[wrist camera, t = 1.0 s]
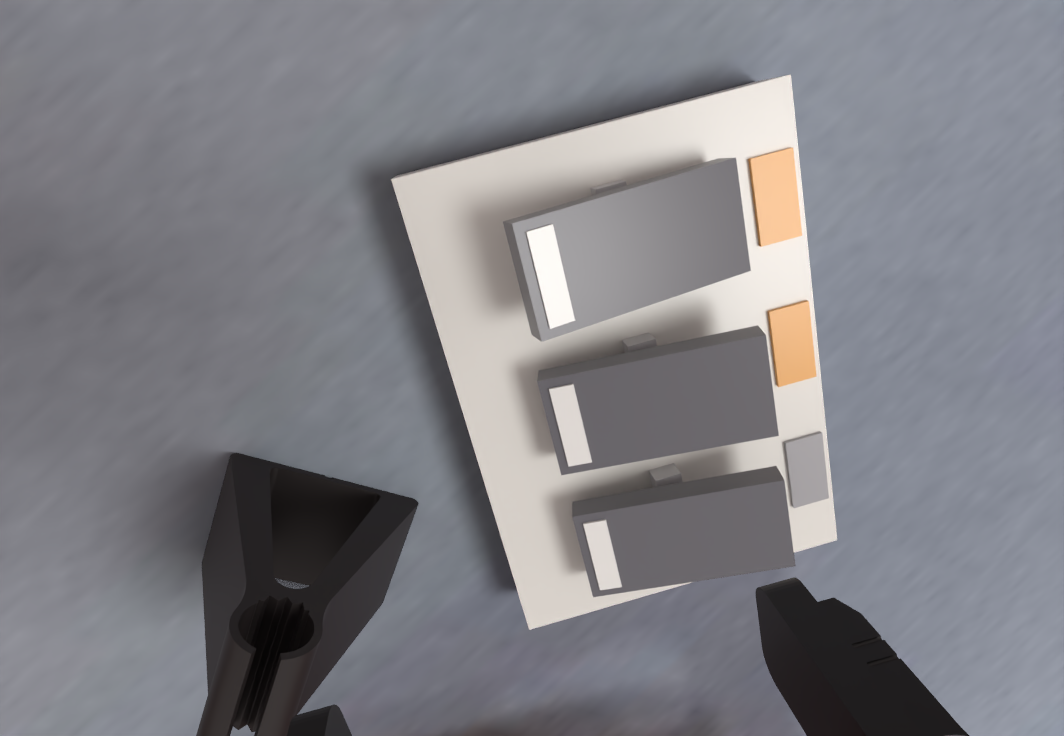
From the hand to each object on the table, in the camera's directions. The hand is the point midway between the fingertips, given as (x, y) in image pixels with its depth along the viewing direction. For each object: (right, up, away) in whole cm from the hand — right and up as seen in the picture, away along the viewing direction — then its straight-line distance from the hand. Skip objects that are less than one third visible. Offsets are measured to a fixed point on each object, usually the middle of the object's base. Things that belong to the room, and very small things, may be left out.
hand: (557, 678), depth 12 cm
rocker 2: (+5, +5, +16) cm, 17 cm away
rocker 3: (+6, -1, +18) cm, 19 cm away
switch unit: (+4, +6, +20) cm, 21 cm away
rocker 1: (+3, +10, +13) cm, 17 cm away
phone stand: (-11, -2, +21) cm, 24 cm away
